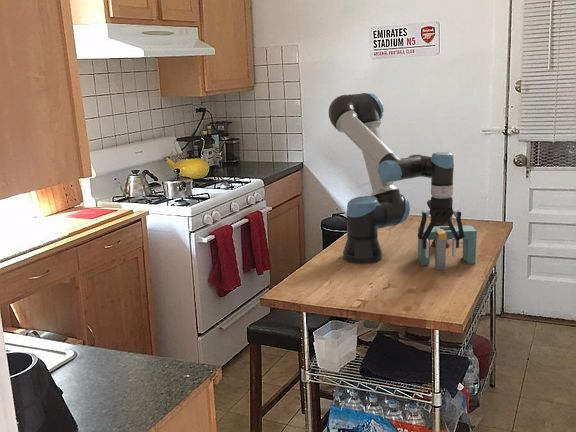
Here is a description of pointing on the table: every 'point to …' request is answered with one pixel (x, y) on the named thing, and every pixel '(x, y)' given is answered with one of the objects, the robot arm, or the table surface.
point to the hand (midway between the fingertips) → (440, 256)
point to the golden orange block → (440, 249)
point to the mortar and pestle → (439, 225)
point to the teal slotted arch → (468, 239)
